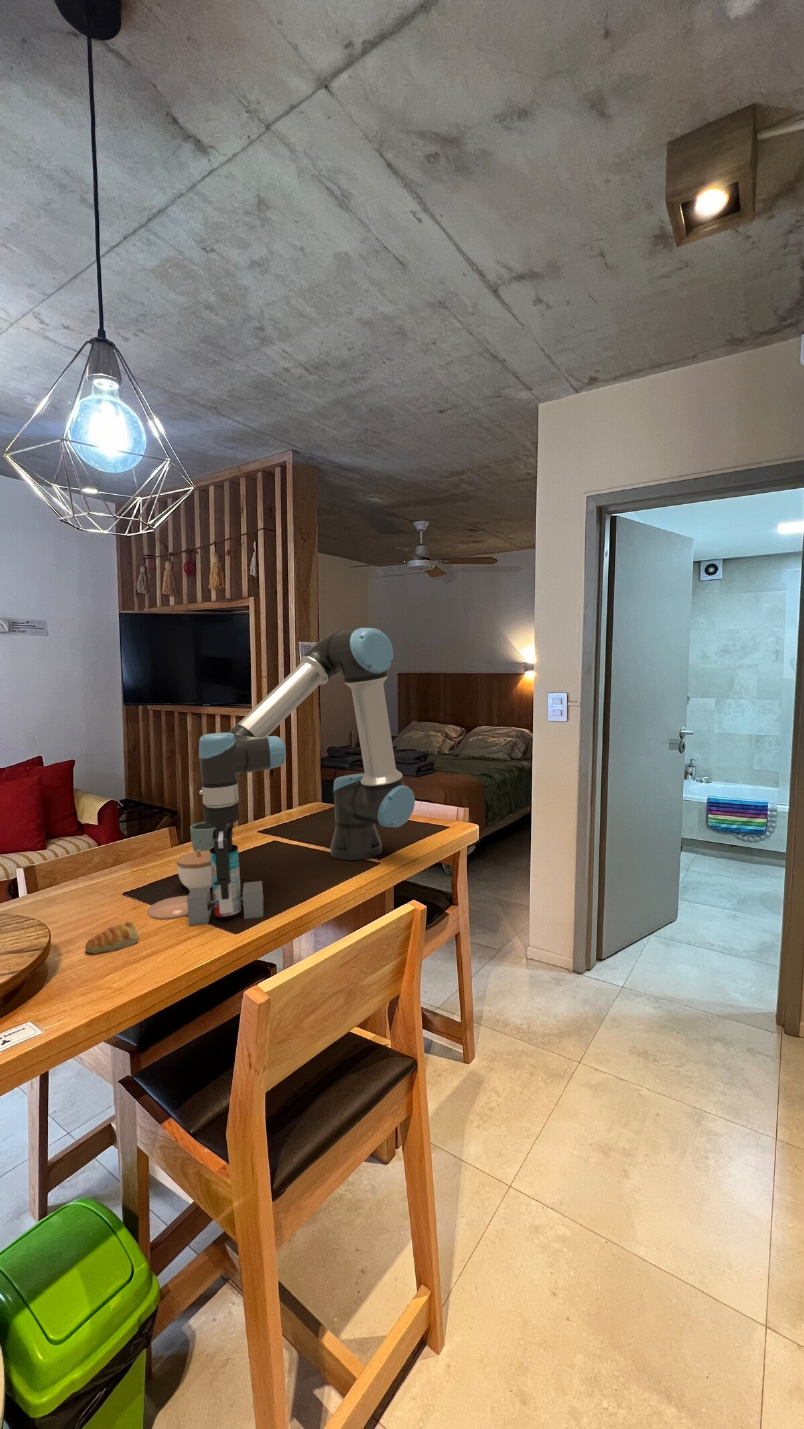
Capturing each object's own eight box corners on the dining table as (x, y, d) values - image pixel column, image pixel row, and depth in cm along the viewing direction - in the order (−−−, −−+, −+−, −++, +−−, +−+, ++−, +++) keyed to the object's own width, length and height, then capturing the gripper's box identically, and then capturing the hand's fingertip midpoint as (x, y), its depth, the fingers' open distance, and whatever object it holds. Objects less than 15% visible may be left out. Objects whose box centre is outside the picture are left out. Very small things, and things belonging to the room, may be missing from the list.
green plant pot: (212, 874, 158) (209, 830, 157) (184, 870, 163) (181, 827, 162) (237, 862, 168) (235, 821, 167) (210, 858, 172) (208, 818, 171)
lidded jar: (168, 892, 146) (166, 855, 146) (198, 877, 156) (196, 842, 156) (203, 896, 142) (201, 859, 142) (231, 881, 152) (229, 846, 152)
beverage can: (227, 907, 135) (223, 843, 133) (247, 911, 132) (243, 845, 131) (208, 917, 129) (203, 850, 128) (228, 921, 127) (224, 853, 125)
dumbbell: (263, 901, 138) (262, 876, 138) (262, 916, 129) (261, 890, 129) (194, 909, 135) (192, 883, 135) (188, 925, 126) (187, 898, 126)
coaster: (206, 895, 143) (206, 893, 143) (200, 915, 131) (200, 912, 131) (153, 901, 140) (153, 899, 140) (142, 922, 129) (142, 919, 129)
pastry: (91, 960, 113) (89, 941, 112) (81, 949, 117) (79, 930, 117) (141, 943, 119) (140, 925, 119) (130, 933, 124) (128, 916, 124)
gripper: (207, 796, 137) (214, 892, 139) (197, 815, 119) (205, 926, 121) (240, 793, 139) (246, 888, 141) (236, 812, 120) (243, 921, 122)
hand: (227, 905), depth 131 cm, fingers closed on beverage can, 6 cm apart
